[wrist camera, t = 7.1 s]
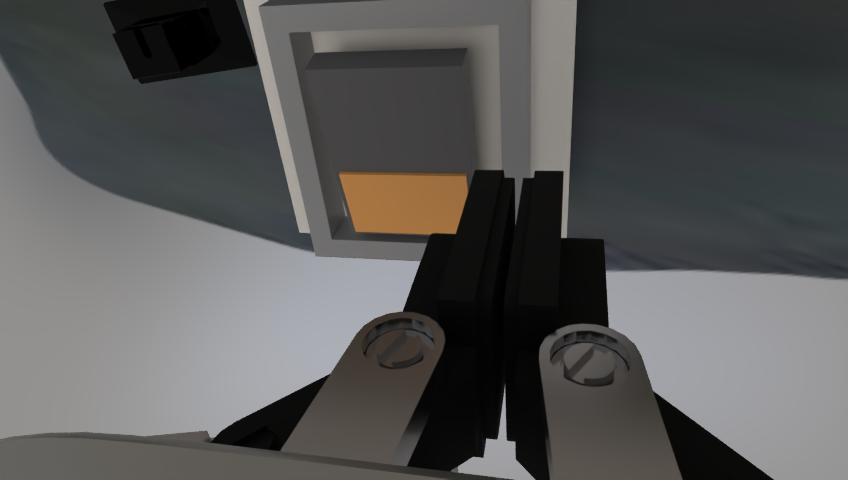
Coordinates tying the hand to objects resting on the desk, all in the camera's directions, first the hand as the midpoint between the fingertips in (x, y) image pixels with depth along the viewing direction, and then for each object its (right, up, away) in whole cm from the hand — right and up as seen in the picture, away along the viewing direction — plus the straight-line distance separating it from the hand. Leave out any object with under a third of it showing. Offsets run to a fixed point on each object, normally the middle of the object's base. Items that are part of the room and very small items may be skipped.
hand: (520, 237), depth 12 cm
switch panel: (-1, +10, +27) cm, 29 cm away
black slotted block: (-18, +14, +29) cm, 37 cm away
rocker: (-3, +5, +19) cm, 19 cm away
